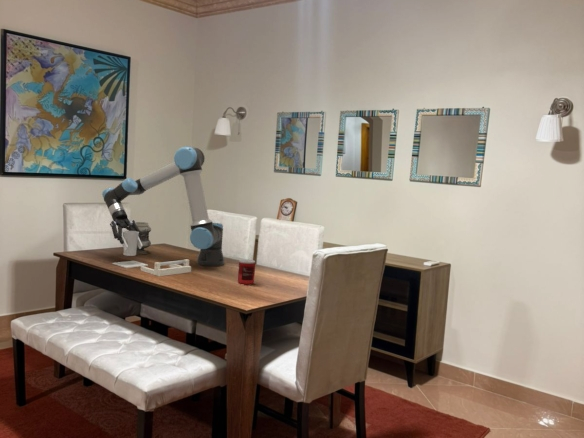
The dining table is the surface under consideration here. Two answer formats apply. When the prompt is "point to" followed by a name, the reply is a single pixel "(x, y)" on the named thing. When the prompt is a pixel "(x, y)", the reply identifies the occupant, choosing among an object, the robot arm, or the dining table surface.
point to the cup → (130, 242)
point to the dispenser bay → (169, 271)
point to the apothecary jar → (143, 237)
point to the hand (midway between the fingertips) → (133, 247)
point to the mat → (130, 264)
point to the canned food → (246, 271)
